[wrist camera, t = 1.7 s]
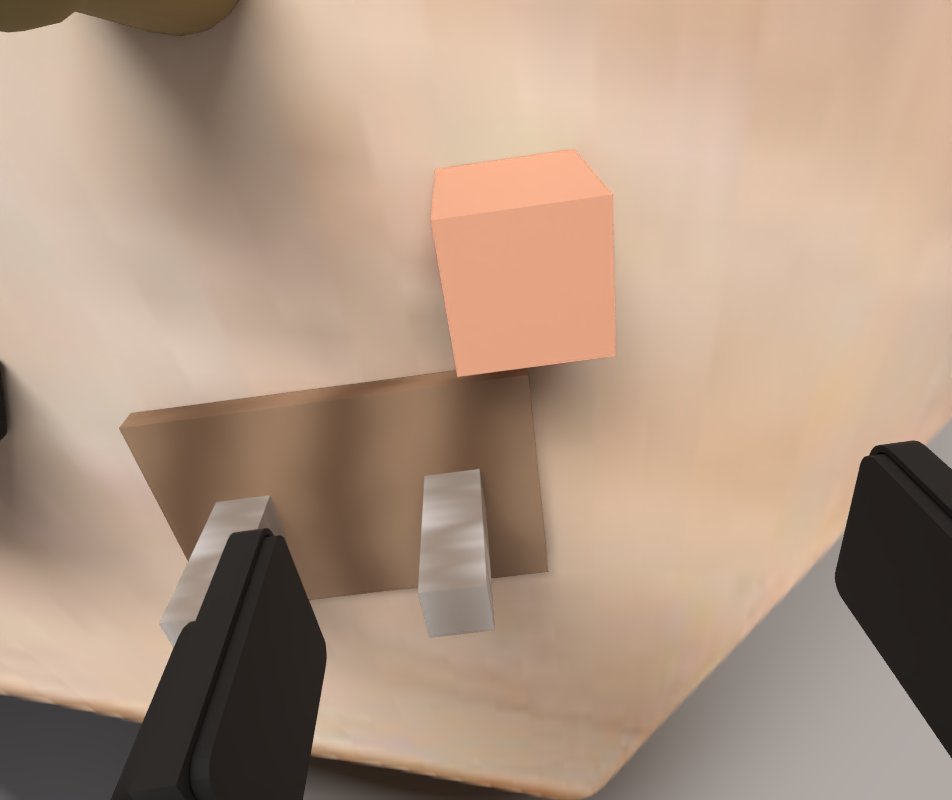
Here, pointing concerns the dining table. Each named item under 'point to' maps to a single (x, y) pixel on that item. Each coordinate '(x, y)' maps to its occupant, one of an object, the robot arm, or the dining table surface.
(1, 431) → the battery
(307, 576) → the peg stand
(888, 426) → the dining table surface
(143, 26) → the cork
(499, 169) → the salmon pink foam cube
